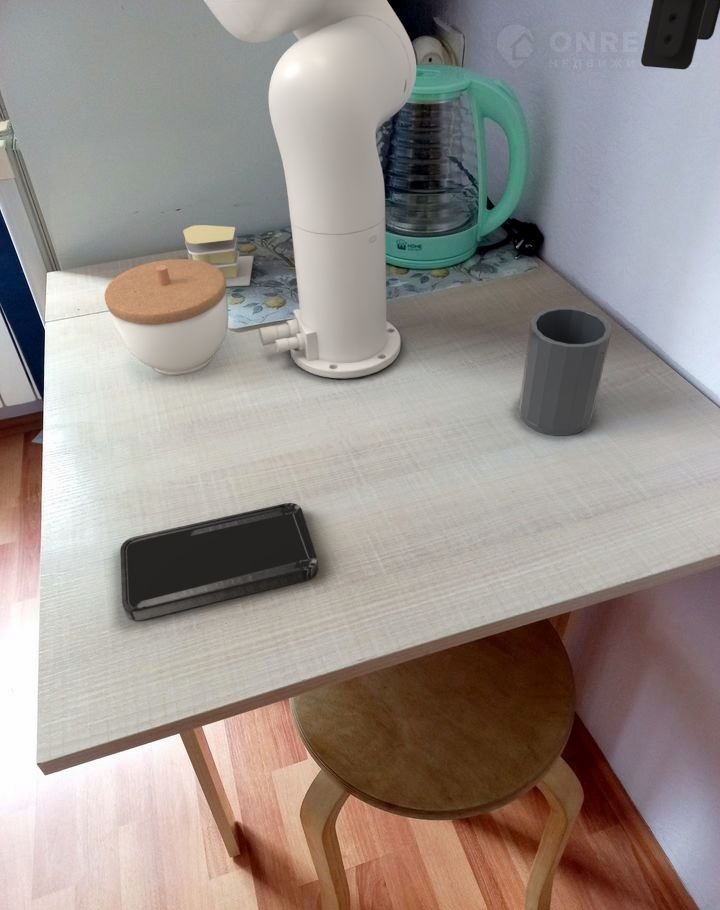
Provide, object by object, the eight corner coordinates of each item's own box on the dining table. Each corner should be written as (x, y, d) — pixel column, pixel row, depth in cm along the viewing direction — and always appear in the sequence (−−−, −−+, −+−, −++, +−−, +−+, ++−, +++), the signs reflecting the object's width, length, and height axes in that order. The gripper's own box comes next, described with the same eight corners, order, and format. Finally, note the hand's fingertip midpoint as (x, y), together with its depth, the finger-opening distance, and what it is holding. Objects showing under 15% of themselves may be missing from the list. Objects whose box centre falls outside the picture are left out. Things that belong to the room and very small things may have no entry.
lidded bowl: (119, 343, 83) (92, 255, 76) (223, 320, 87) (207, 233, 80) (134, 401, 74) (106, 307, 67) (250, 372, 78) (235, 280, 71)
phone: (319, 567, 55) (122, 614, 52) (320, 576, 56) (126, 623, 53) (298, 499, 61) (119, 538, 58) (299, 508, 61) (123, 547, 59)
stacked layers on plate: (253, 255, 100) (248, 218, 96) (249, 285, 93) (243, 246, 90) (182, 259, 100) (174, 222, 96) (173, 289, 93) (164, 250, 90)
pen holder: (540, 442, 67) (556, 353, 61) (506, 401, 72) (517, 315, 66) (605, 426, 69) (626, 337, 62) (567, 387, 74) (583, 301, 67)
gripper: (710, -271, 47) (649, 25, 58) (658, -301, 36) (594, 75, 47) (838, -283, 44) (748, 31, 55) (826, -319, 33) (715, 86, 44)
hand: (677, 51), depth 51 cm, fingers open, 9 cm apart
